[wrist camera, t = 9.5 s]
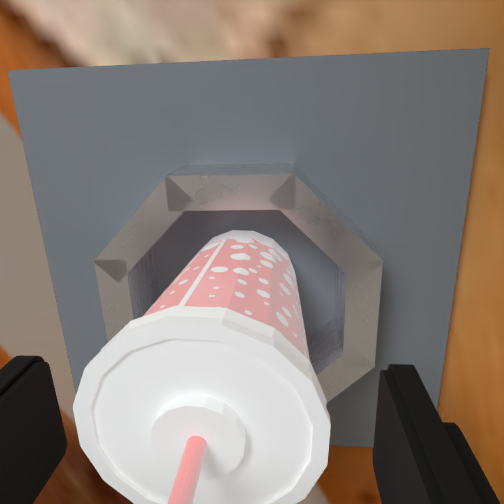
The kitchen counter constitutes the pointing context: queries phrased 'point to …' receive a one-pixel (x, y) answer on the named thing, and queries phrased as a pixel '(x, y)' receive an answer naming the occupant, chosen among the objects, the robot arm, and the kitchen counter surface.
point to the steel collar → (254, 198)
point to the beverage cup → (210, 387)
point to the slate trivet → (266, 151)
